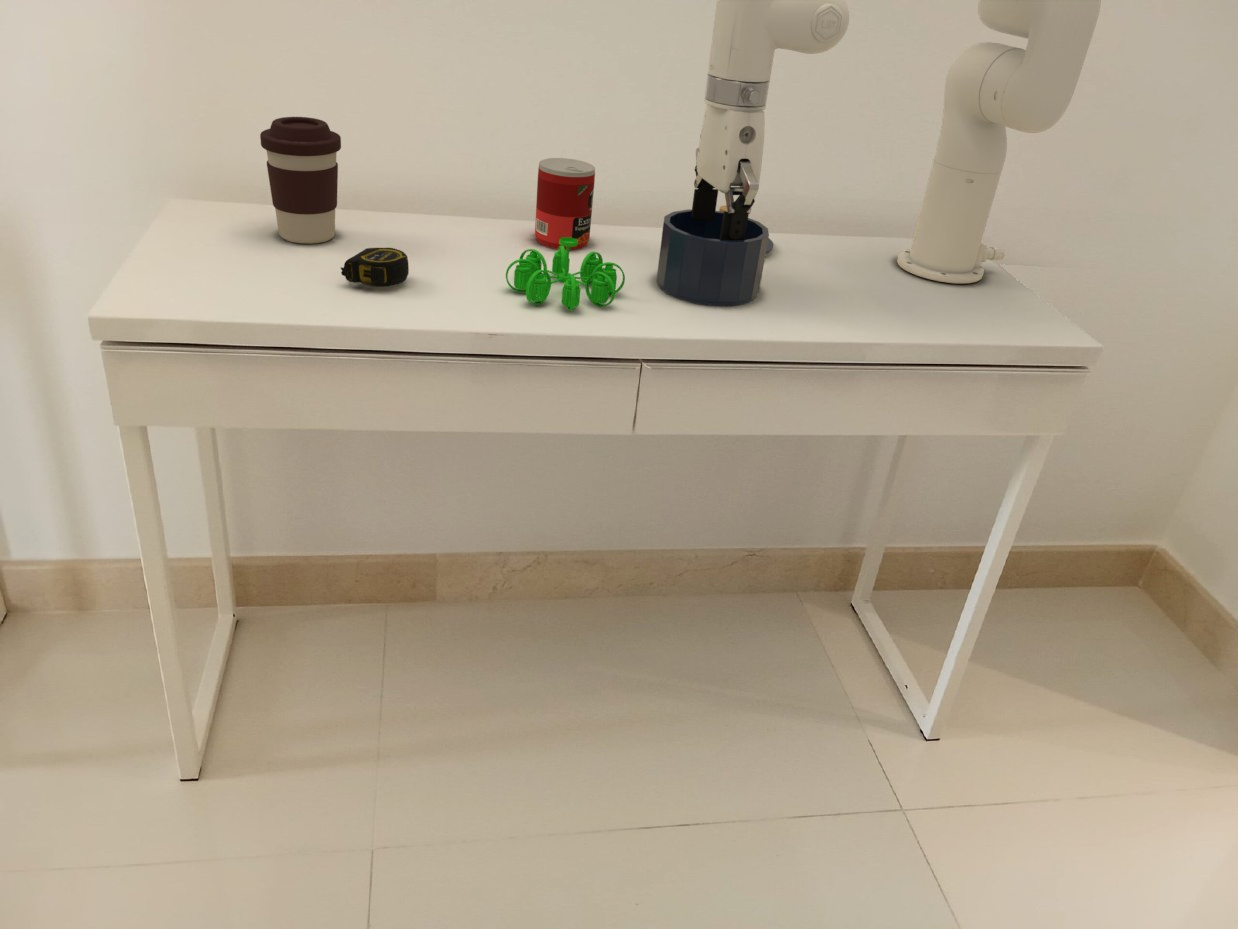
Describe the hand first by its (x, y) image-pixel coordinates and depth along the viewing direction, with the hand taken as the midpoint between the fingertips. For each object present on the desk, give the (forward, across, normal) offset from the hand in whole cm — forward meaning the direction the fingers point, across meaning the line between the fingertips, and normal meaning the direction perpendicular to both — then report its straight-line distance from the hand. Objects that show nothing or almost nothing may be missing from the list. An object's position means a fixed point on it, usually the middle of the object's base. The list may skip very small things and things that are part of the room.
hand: (716, 230), depth 129 cm
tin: (+8, 0, 0) cm, 8 cm away
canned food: (+8, +19, +15) cm, 26 cm away
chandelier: (+8, -1, +20) cm, 22 cm away
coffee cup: (+8, +22, +50) cm, 55 cm away
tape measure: (+8, +4, +43) cm, 44 cm away
